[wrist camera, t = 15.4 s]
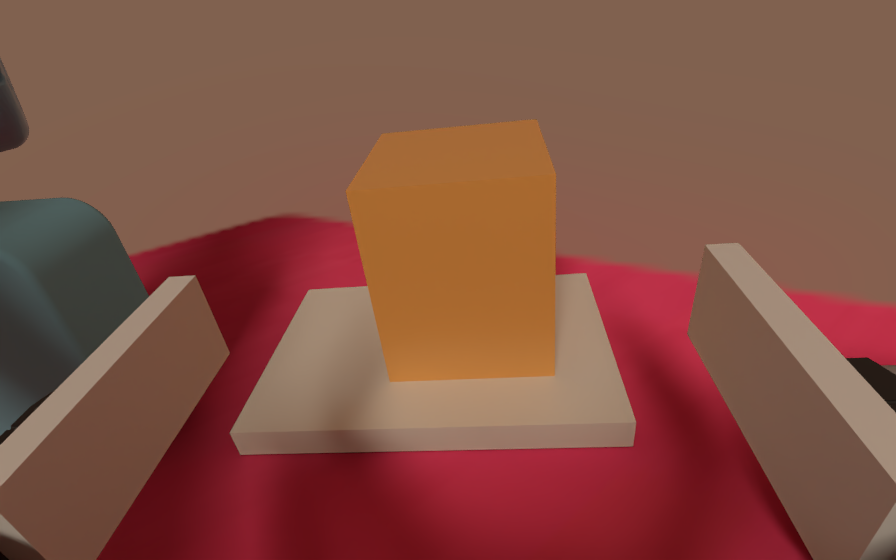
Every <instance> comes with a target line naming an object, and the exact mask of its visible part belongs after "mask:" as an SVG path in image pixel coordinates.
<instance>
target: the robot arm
mask: <svg viewBox="0 0 896 560" xmlns="http://www.w3.org/2000/svg"><path fill="white" fill-rule="evenodd" d="M28 135H29V127H28V123H27V120H26V118H25V115H24V112H23V110H22V107H21V105H20V103H19V100H18V98H17V95H16V93H15V91H14V88H13V86H12V84H11V81H10V79H9V77H8V74H7V72H6V70H5V67H4V65H3V63H2V61H1V58H0V152H3V151H6V150H11V149H14V148H17V147H19V146H21V145H22V144H23V143H24V142H25V141H26V140H27V138H28ZM687 334H688V336H689V338H690V340H691V342H692V343H693V345H694V347H695V349H696V351H697V352H698V354H699V356H700V358H701V360H702V361H703V363H704V365H705V367H706V368H707V370H708V372H709V374H710V376H711V377H712V379H713V381H714V383H715V385H716V386H717V388H718V390H719V392H720V394H721V395H722V397H723V399H724V401H725V403H726V404H727V406H728V408H729V410H730V411H731V413H732V415H733V417H734V419H735V420H736V422H737V424H738V426H739V428H740V429H741V431H742V433H743V435H744V437H745V438H746V440H747V442H748V444H749V446H750V447H751V449H752V451H753V453H754V454H755V456H756V458H757V460H758V462H759V463H760V465H761V467H762V469H763V471H764V472H765V474H766V476H767V478H768V480H769V481H770V483H771V485H772V487H773V488H774V490H775V492H776V494H777V496H778V497H779V499H780V501H781V503H782V505H783V506H784V508H785V510H786V512H787V514H788V515H789V517H790V519H791V521H792V523H793V524H794V526H795V528H796V530H797V531H798V533H799V535H800V537H801V539H802V540H803V542H804V544H805V546H806V548H807V549H808V551H809V553H810V555H811V557H812V558H813V560H896V374H894V373H892V372H891V371H889V370H887V369H886V368H884V367H882V366H881V365H879V364H877V363H876V362H874V361H872V360H871V359H869V358H845V357H844V356H843V355H842V354H841V353H840V352H839V351H838V350H837V349H836V348H835V347H834V346H833V344H832V343H831V342H830V341H829V340H828V339H827V338H826V337H825V336H824V335H823V334H822V333H821V331H820V330H819V329H818V328H817V327H816V326H815V325H814V324H813V323H812V322H811V321H810V320H809V319H808V317H807V316H806V315H805V314H804V313H803V312H802V311H801V310H800V309H799V308H798V307H797V306H796V304H795V303H794V302H793V301H792V300H791V299H790V298H789V297H788V296H787V295H786V294H785V293H784V292H783V290H782V289H781V288H780V287H779V286H778V285H777V284H776V283H775V282H774V281H773V280H772V279H771V278H770V276H769V275H768V274H767V273H766V272H765V271H764V270H763V269H762V268H761V267H760V266H759V265H758V264H757V262H756V261H755V260H754V259H753V258H752V257H751V256H750V255H749V254H748V253H747V252H746V251H745V250H744V248H743V247H742V246H741V245H740V244H739V243H728V244H711V245H705V248H704V253H703V258H702V263H701V268H700V273H699V278H698V283H697V288H696V293H695V298H694V303H693V308H692V313H691V318H690V323H689V328H688V333H687ZM229 354H230V352H229V350H228V348H227V345H226V343H225V341H224V339H223V336H222V334H221V332H220V330H219V327H218V325H217V323H216V320H215V318H214V316H213V314H212V311H211V309H210V307H209V305H208V302H207V300H206V298H205V296H204V293H203V291H202V289H201V287H200V284H199V282H198V280H197V278H196V275H193V276H176V277H168V278H167V279H166V280H165V281H164V282H163V283H162V284H161V285H160V286H159V287H158V288H157V289H156V290H155V291H154V292H153V293H152V294H151V295H150V296H149V297H148V298H147V299H146V300H145V301H144V302H143V303H142V304H141V305H140V306H139V307H138V308H137V309H136V310H135V311H134V312H133V313H132V314H131V315H130V316H129V317H128V318H127V319H126V320H125V321H124V322H123V323H122V324H121V325H120V326H119V327H118V328H117V329H116V330H115V331H114V332H113V333H112V334H111V335H110V336H109V337H108V338H107V339H106V340H105V341H104V342H103V343H102V344H101V345H100V346H99V347H98V348H97V349H96V350H95V351H94V352H93V353H92V354H91V355H90V356H89V357H88V358H87V359H86V360H85V361H84V362H83V363H82V364H81V365H80V366H79V367H78V368H77V369H76V370H75V371H74V372H73V373H72V374H71V375H70V376H69V377H68V378H67V379H66V380H65V381H64V382H63V383H62V384H61V385H60V386H59V387H58V388H57V389H55V390H54V391H52V392H51V393H49V394H48V395H46V396H45V397H43V398H42V399H40V400H39V401H37V402H36V403H35V404H33V405H32V406H30V407H29V408H28V409H27V410H26V411H25V412H24V413H23V414H22V415H21V416H20V417H19V418H18V419H17V420H16V421H15V422H14V423H13V424H12V425H11V429H10V430H6V431H5V432H4V433H3V434H2V435H1V436H0V560H96V559H97V557H98V556H99V554H100V553H101V551H102V550H103V548H104V547H105V545H106V544H107V542H108V541H109V539H110V537H111V536H112V534H113V533H114V531H115V530H116V528H117V527H118V525H119V524H120V522H121V520H122V519H123V517H124V516H125V514H126V513H127V511H128V510H129V508H130V507H131V505H132V504H133V502H134V500H135V499H136V497H137V496H138V494H139V493H140V491H141V490H142V488H143V487H144V485H145V483H146V482H147V480H148V479H149V477H150V476H151V474H152V473H153V471H154V470H155V468H156V467H157V465H158V463H159V462H160V460H161V459H162V457H163V456H164V454H165V453H166V451H167V450H168V448H169V447H170V445H171V443H172V442H173V440H174V439H175V437H176V436H177V434H178V433H179V431H180V430H181V428H182V426H183V425H184V423H185V422H186V420H187V419H188V417H189V416H190V414H191V413H192V411H193V410H194V408H195V406H196V405H197V403H198V402H199V400H200V399H201V397H202V396H203V394H204V393H205V391H206V389H207V388H208V386H209V385H210V383H211V382H212V380H213V379H214V377H215V376H216V374H217V373H218V371H219V369H220V368H221V366H222V365H223V363H224V362H225V360H226V359H227V357H228V356H229Z"/></svg>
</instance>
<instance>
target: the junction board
mask: <svg viewBox="0 0 896 560" xmlns="http://www.w3.org/2000/svg"><path fill="white" fill-rule="evenodd" d="M635 429H636V420H635V417H634V414H633V411H632V408H631V405H630V402H629V399H628V396H627V393H626V390H625V387H624V384H623V381H622V378H621V375H620V373H619V370H618V367H617V364H616V361H615V358H614V355H613V352H612V349H611V346H610V343H609V340H608V337H607V334H606V331H605V328H604V325H603V322H602V319H601V316H600V313H599V310H598V307H597V304H596V301H595V298H594V295H593V292H592V290H591V287H590V284H589V281H588V278H587V275H586V273H582V274H566V275H555V376H539V377H512V378H485V379H458V380H431V381H404V382H390V381H389V376H388V372H387V368H386V363H385V359H384V355H383V350H382V346H381V342H380V337H379V333H378V329H377V324H376V320H375V316H374V311H373V307H372V303H371V298H370V294H369V290H368V286H364V287H347V288H330V289H314V290H308V292H307V294H306V296H305V298H304V299H303V301H302V303H301V305H300V307H299V308H298V310H297V312H296V314H295V316H294V317H293V319H292V321H291V323H290V325H289V326H288V328H287V330H286V332H285V334H284V335H283V337H282V339H281V341H280V343H279V345H278V346H277V348H276V350H275V352H274V354H273V355H272V357H271V359H270V361H269V363H268V364H267V366H266V368H265V370H264V372H263V373H262V375H261V377H260V379H259V381H258V383H257V384H256V386H255V388H254V390H253V392H252V393H251V395H250V397H249V399H248V401H247V402H246V404H245V406H244V408H243V410H242V411H241V413H240V415H239V417H238V419H237V420H236V422H235V424H234V426H233V428H232V430H231V431H230V435H231V437H232V439H233V441H234V443H235V445H236V447H237V449H238V451H239V453H240V455H251V454H298V453H345V452H393V451H440V450H487V449H534V448H582V447H629V446H633V444H634V436H635Z"/></svg>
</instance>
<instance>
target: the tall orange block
mask: <svg viewBox="0 0 896 560" xmlns="http://www.w3.org/2000/svg"><path fill="white" fill-rule="evenodd" d="M346 194H347V199H348V203H349V208H350V212H351V216H352V221H353V225H354V229H355V234H356V238H357V242H358V247H359V251H360V255H361V260H362V264H363V268H364V273H365V277H366V281H367V286H368V290H369V294H370V298H371V303H372V307H373V311H374V316H375V320H376V324H377V329H378V333H379V337H380V342H381V346H382V350H383V355H384V359H385V363H386V368H387V372H388V376H389V381H390V382H404V381H431V380H458V379H485V378H512V377H539V376H555V258H556V238H555V237H556V173H555V170H554V167H553V164H552V161H551V158H550V156H549V153H548V150H547V147H546V144H545V142H544V139H543V136H542V133H541V130H540V127H539V125H538V122H537V119H533V120H522V121H512V122H501V123H490V124H480V125H469V126H459V127H449V128H437V129H426V130H416V131H405V132H395V133H384V134H382V135H381V136H380V138H379V139H378V141H377V143H376V144H375V146H374V148H373V149H372V150H371V152H370V154H369V155H368V157H367V159H366V160H365V162H364V163H363V165H362V166H361V168H360V169H359V171H358V173H357V174H356V176H355V177H354V179H353V180H352V182H351V184H350V185H349V187H348V188H347V190H346Z"/></svg>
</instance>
